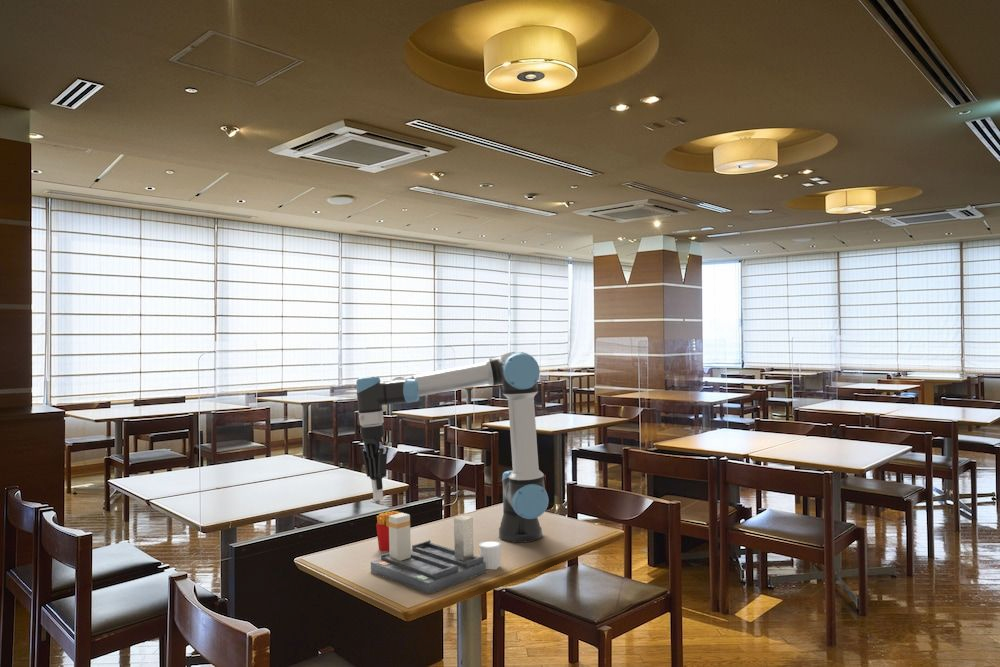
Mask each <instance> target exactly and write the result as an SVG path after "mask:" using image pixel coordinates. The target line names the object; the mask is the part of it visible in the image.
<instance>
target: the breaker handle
mask: <svg viewBox="0 0 1000 667" xmlns="http://www.w3.org/2000/svg"><path fill="white" fill-rule="evenodd" d="M411 544H412V543H411V515H410V514H409V513H406V512H405V513H404V512H400V513H398V514H394V515H390V516H389V550H388V553H389V557H391V558H394V559H397V560H400V561H401V560H404V559H408V558H411V549H412V545H411Z"/></svg>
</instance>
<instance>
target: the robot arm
mask: <svg viewBox="0 0 1000 667" xmlns="http://www.w3.org/2000/svg"><path fill="white" fill-rule="evenodd" d="M540 370H541V369H540V365H539V363H538V361H537V360H536V359H535V357H533V356H532V355H531V354H529V353H527V352H524V351H522V352H521V351H518V352H516V351H511V352H508V353H507V352H506V353H505V354H501V355H498V356H494V357H491V358H486V359H485V361H484V362H478V363H473V364H468V365H463V366H457V367H452V368H446V369H440V370H434V371H430V372H425V373H418V374H413V375H407V376H398V377H394V378H393V379H391V380H389V381H388V380H387V381H381V378H380V376H377V375H375V376H366V377H365V376H364V377H359V378H357V380H356V397H357V406H358V407H357V408H358V419H359V425H360V428H359V431H360V432H359V433H360V438H361V439H362V440H364V441H363V444H364V445H363V446H359V447H360V448H359V449H360V452H361V454H362V459H363V460H362V461H363V464H364V469H365V474H366V477H367V478H370V480H371V488H372V498H373V501H376V502H377V501H380V500H384V492H383V491H384V490H383V489H384V488H383V487H384V486H383V478H385V477H387V466H388V464H387V463H388V462H387V461H388V460H387V459H388V452H389V447H387V446H386V447H385V445H384V442H383V439H382V438H383V437H385V435H386V434H385V426H384V423H385V422H384V421H385V420H384V411H383V406H384V405H385V406H387V405H395V404H410V403H414V402H418V401H419V400H420V397H424V396H429V395H435V394H440V393H445V392H446V393H447V392H451V391H456V390H462V389H467V388H473V387H479V386H483V385H490V386H492V387H494V386H500V385H501V387H502V395H503V396H504V397H505V398H506V399H507V403H508V404H507V405H508V419H509V431H510V432H509V433H510V436H509V437H510V448H511V462H512V463H511V464H512V469H511V470H507V471H504V472H502V478H501V482H502V505H503V506H502V509H503V512H502V518H501V522H500V527H499V528H498V537H499V539H501V540H502V539H504V540H503V541H505V540H508V541H507V542H510V541H515V542H514V543H529V542H533V541H534V542H535V541H537V540H539V538H540V539H541V538H542V537H543V529H542V526H541V525H540V521H539V517H540V516H543V514H544V513H545V512H546V511H547V508H548V506H549V496H548V493H547V490H546V488H545V477H544V476H545V475H544V473H543V472H542V471H541V470H540V469H539V468H540V467H539V455H538V442H537V441H538V439H537V438H538V437H537V427H536V426H537V425H536V412H535V396H536V395H537V394H538V393H539V390H538V389H539V386H538V380H539V378H540V375H541V373H540ZM525 541H526V542H525ZM528 541H529V542H528Z"/></svg>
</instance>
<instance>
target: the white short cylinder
mask: <svg viewBox="0 0 1000 667" xmlns="http://www.w3.org/2000/svg"><path fill="white" fill-rule="evenodd" d="M478 548H479V550H478V551H479V557H481V556H482V557H483V562H486V569H495V570H497V569H496V568H498V567H499V568H500V567H501V554H502V553H501V552H502V551H501V550H502V543H501V542H500V541H497V540H486V541H485V540H484V541H482V542H479V544H478ZM499 568H498V569H499Z"/></svg>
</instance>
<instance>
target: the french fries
mask: <svg viewBox="0 0 1000 667" xmlns="http://www.w3.org/2000/svg"><path fill="white" fill-rule="evenodd" d="M398 513H401V511H398V510H392V511H390V510H387V511H386V510H385V512H382V513H379V514H378V515H376V520H377V522H376V523H375V525H376V534H377V536H376V537H377V544H378V550H379V551H380V552H389V516H390V515H394V514H398Z"/></svg>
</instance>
